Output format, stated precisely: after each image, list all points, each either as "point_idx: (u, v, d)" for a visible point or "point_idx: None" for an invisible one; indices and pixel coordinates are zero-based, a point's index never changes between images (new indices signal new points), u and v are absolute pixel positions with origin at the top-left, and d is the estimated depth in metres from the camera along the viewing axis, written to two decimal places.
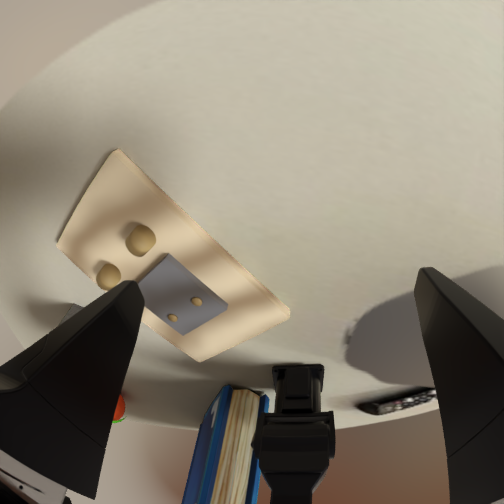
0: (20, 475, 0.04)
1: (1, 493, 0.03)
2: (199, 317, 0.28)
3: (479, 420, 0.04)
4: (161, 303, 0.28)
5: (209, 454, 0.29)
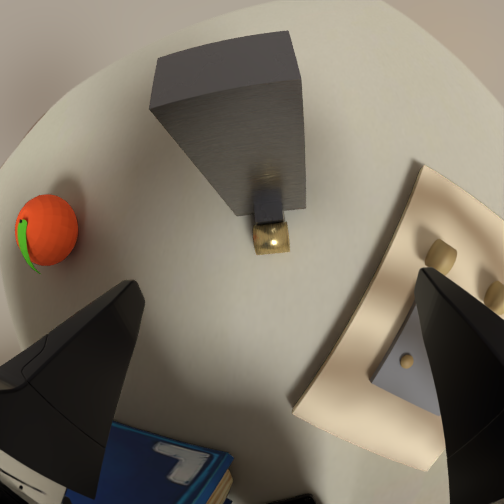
0: (20, 475, 0.04)
1: (1, 493, 0.03)
2: (418, 393, 0.17)
3: (479, 420, 0.04)
4: None
5: None
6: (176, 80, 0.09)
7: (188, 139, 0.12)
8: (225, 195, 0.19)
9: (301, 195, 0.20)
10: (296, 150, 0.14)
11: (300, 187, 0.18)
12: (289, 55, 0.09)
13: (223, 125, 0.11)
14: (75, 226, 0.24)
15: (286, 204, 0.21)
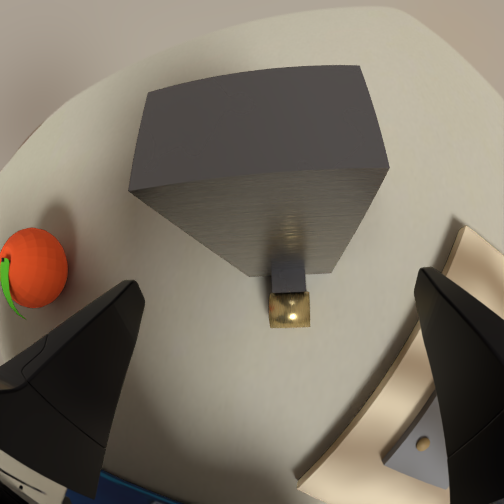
0: (20, 475, 0.04)
1: (1, 493, 0.03)
2: (429, 471, 0.13)
3: (479, 420, 0.04)
4: None
5: None
6: (173, 140, 0.06)
7: (193, 223, 0.08)
8: (238, 264, 0.15)
9: (330, 265, 0.16)
10: (342, 236, 0.10)
11: (332, 261, 0.15)
12: (367, 115, 0.05)
13: (248, 213, 0.08)
14: (64, 267, 0.21)
15: (309, 271, 0.18)
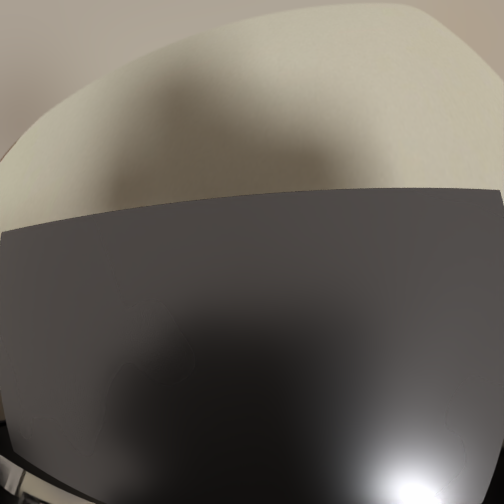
0: None
1: None
2: None
3: None
4: None
5: None
6: (41, 397, 0.02)
7: None
8: None
9: None
10: None
11: None
12: (498, 394, 0.01)
13: None
14: None
15: None
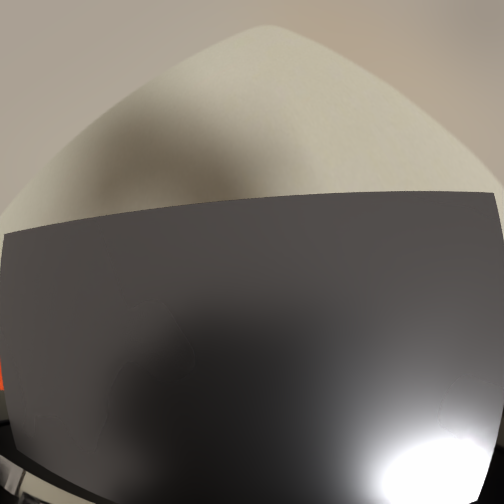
0: None
1: None
2: None
3: None
4: None
5: None
6: (44, 395, 0.02)
7: None
8: None
9: None
10: None
11: None
12: (491, 392, 0.02)
13: None
14: None
15: None
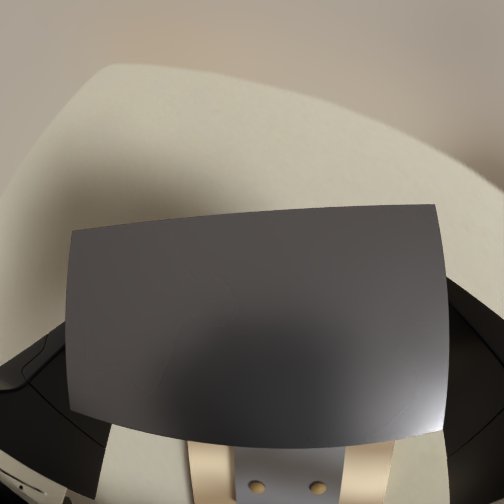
0: (20, 475, 0.04)
1: (1, 493, 0.03)
2: None
3: (479, 420, 0.04)
4: (266, 465, 0.15)
5: None
6: (112, 353, 0.04)
7: None
8: None
9: None
10: None
11: None
12: (436, 337, 0.03)
13: None
14: None
15: None
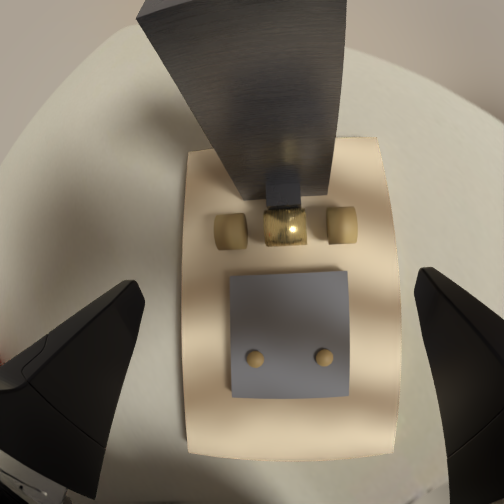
0: (20, 475, 0.04)
1: (1, 493, 0.03)
2: (297, 385, 0.16)
3: (479, 420, 0.04)
4: (265, 326, 0.17)
5: None
6: None
7: (186, 71, 0.08)
8: (231, 168, 0.15)
9: (325, 175, 0.16)
10: (329, 102, 0.09)
11: (325, 163, 0.14)
12: None
13: (235, 49, 0.07)
14: None
15: (304, 188, 0.17)
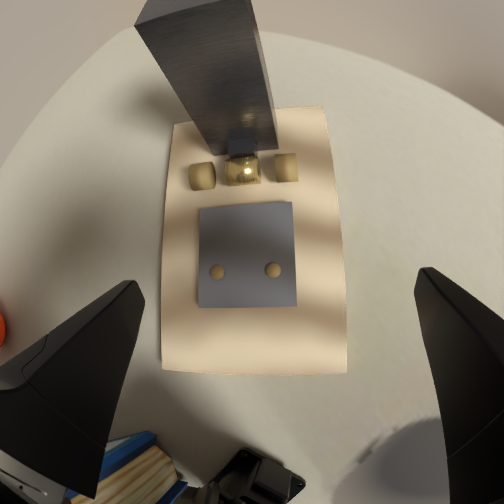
0: (20, 475, 0.04)
1: (1, 493, 0.03)
2: (251, 294, 0.20)
3: (479, 420, 0.04)
4: (226, 245, 0.21)
5: None
6: (156, 8, 0.10)
7: (163, 55, 0.13)
8: (200, 125, 0.19)
9: (271, 129, 0.20)
10: (255, 69, 0.14)
11: (268, 117, 0.19)
12: None
13: (190, 41, 0.12)
14: None
15: (258, 142, 0.22)
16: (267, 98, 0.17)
